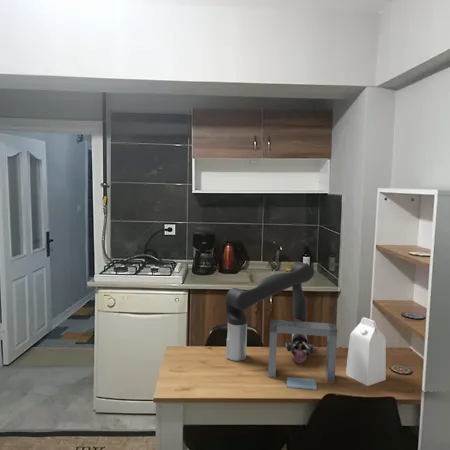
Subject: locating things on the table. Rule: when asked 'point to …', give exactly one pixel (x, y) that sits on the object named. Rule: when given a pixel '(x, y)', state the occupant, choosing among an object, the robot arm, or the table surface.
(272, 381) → the table surface
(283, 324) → the grey arch
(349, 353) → the milk
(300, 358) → the vegetable
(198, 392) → the table surface
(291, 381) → the pad
